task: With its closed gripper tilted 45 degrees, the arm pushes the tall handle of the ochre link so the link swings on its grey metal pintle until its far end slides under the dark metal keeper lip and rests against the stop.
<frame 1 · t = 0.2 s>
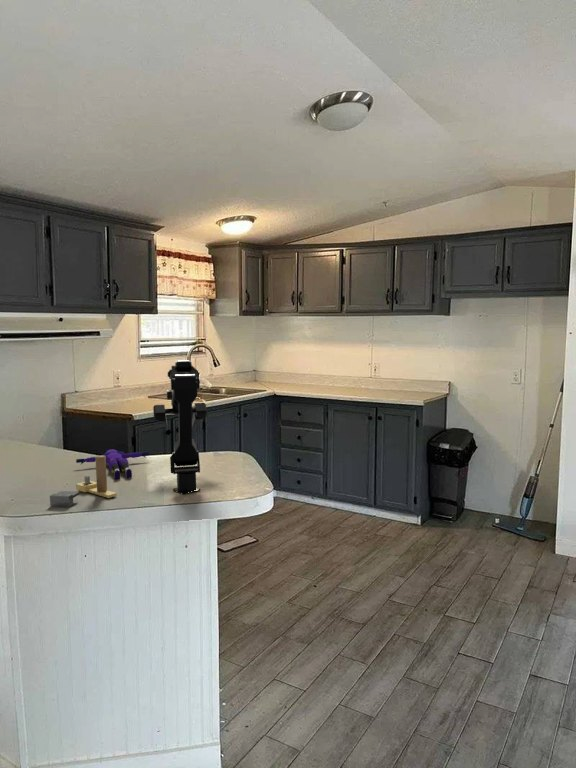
hand: (179, 428, 206), 15 cm above the table, tool tilted 30°, fingers open, 9 cm apart
pintle: (87, 490, 180), on the table
link: (96, 473, 176), point 6 cm above the table, hinge at 60.0°
toy: (117, 470, 207), on the table
keeper: (65, 498, 166), on the table
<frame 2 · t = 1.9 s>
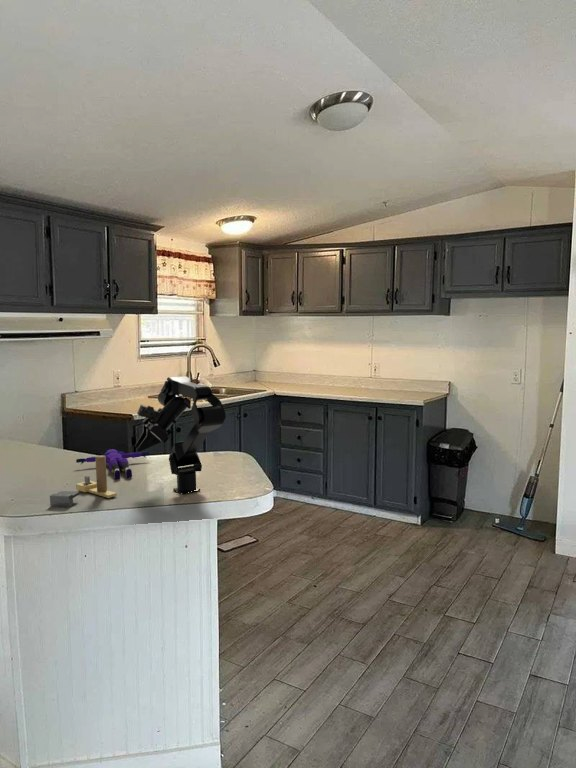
hand: (137, 449, 177), 14 cm above the table, tool tilted 45°, fingers open, 5 cm apart
nothing on the table moved.
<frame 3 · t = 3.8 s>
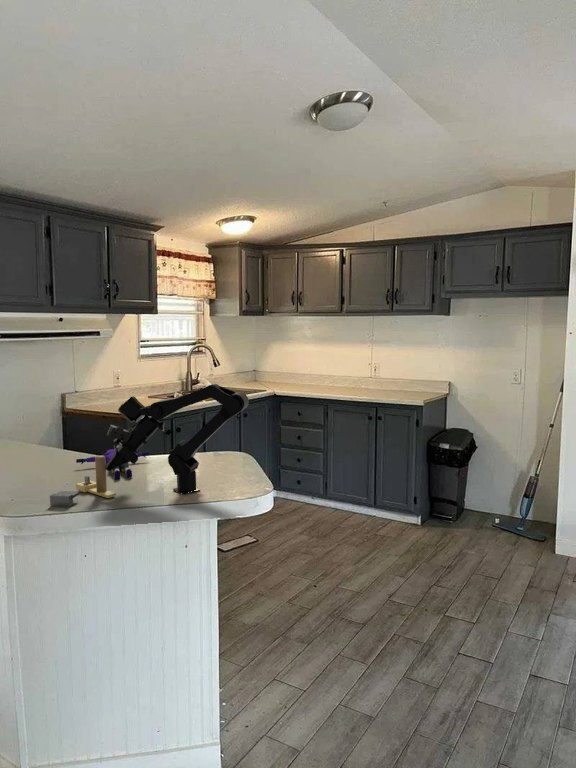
hand: (106, 469, 175), 8 cm above the table, tool tilted 45°, fingers closed, pressing on link
link: (96, 474, 176), point 6 cm above the table, hinge at 59.1°, touching gripper
everything else where it was.
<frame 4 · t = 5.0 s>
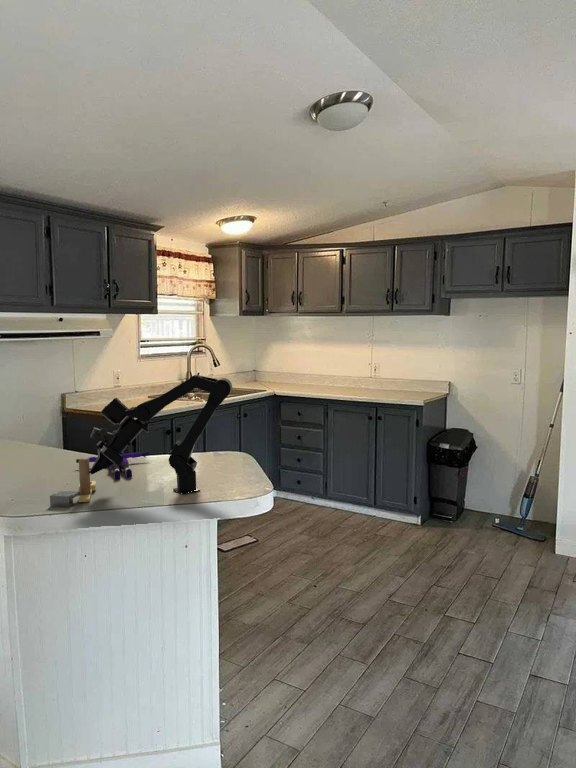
hand: (90, 473, 171), 8 cm above the table, tool tilted 45°, fingers closed, pressing on link
link: (85, 475, 174), point 6 cm above the table, hinge at 23.4°, touching gripper
everything else where it was.
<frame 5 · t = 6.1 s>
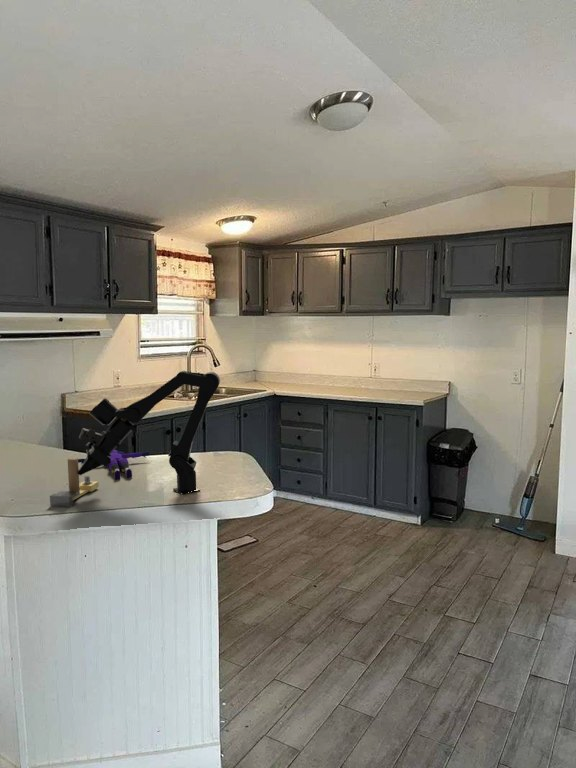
hand: (78, 474, 171), 8 cm above the table, tool tilted 45°, fingers closed
link: (77, 475, 174), point 6 cm above the table, hinge at -0.3°, touching gripper
everything else where it was.
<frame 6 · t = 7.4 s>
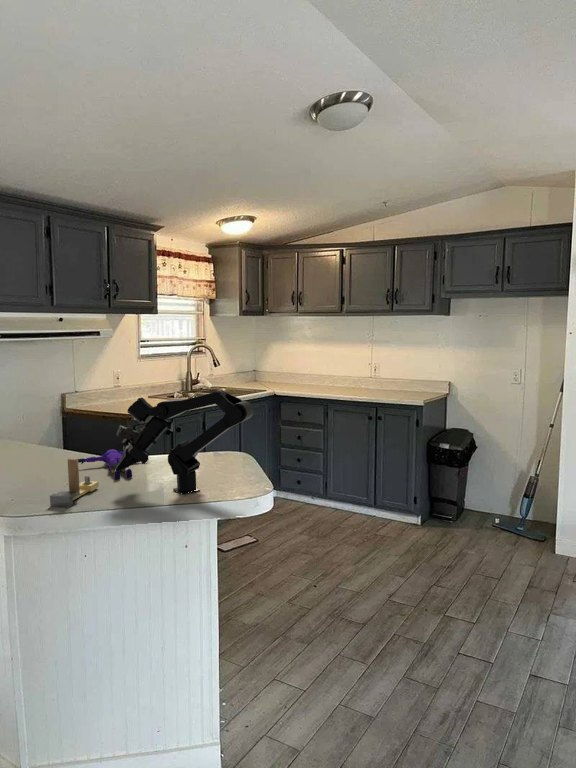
hand: (116, 470, 175), 7 cm above the table, tool tilted 45°, fingers closed
link: (77, 475, 174), point 6 cm above the table, hinge at -0.3°
everything else where it was.
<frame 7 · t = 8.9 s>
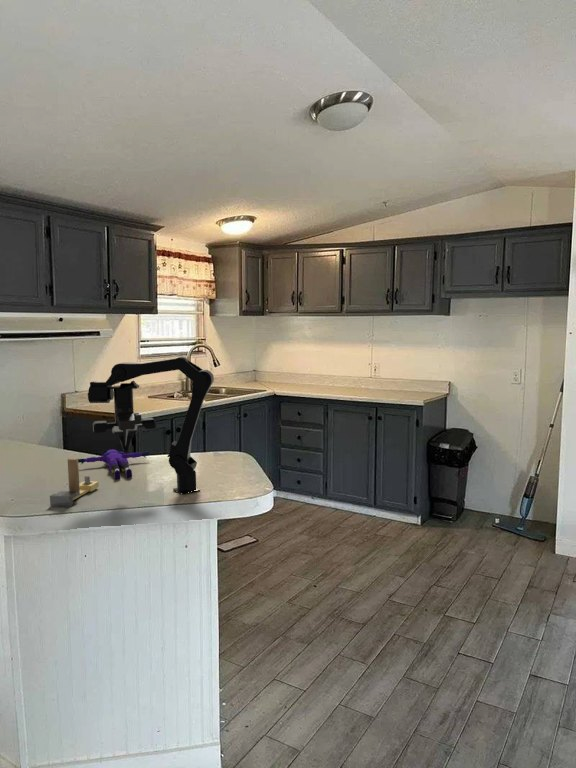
hand: (125, 451, 176), 13 cm above the table, tool pointing down, fingers closed
nothing on the table moved.
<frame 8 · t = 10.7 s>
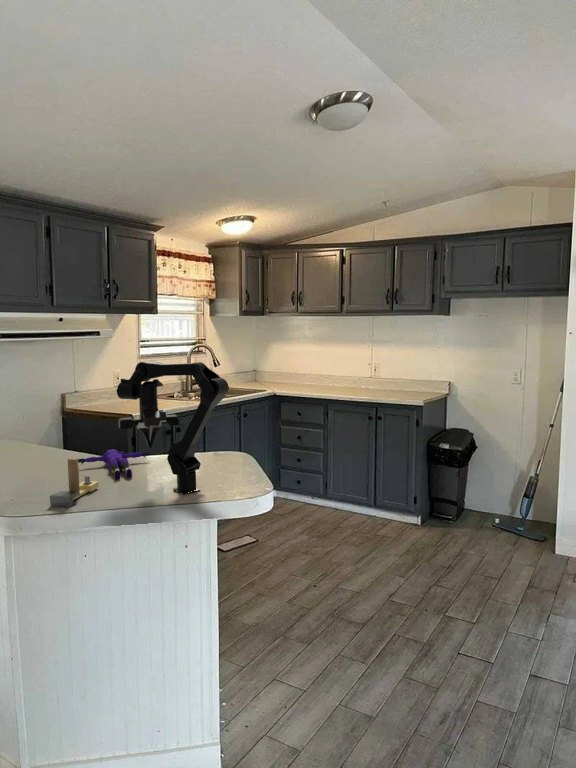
hand: (150, 447, 182), 13 cm above the table, tool pointing down, fingers closed
nothing on the table moved.
at the end: link at +0° (first picture: +60°) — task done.
